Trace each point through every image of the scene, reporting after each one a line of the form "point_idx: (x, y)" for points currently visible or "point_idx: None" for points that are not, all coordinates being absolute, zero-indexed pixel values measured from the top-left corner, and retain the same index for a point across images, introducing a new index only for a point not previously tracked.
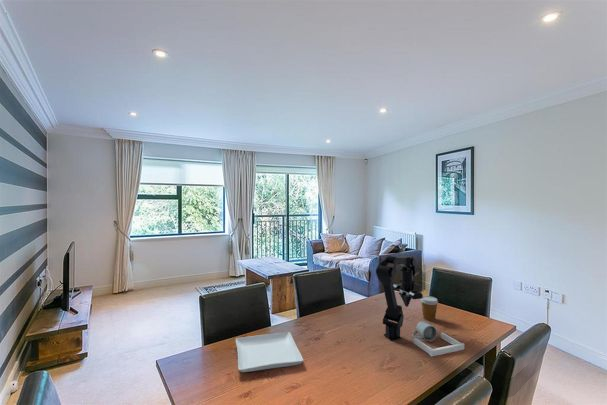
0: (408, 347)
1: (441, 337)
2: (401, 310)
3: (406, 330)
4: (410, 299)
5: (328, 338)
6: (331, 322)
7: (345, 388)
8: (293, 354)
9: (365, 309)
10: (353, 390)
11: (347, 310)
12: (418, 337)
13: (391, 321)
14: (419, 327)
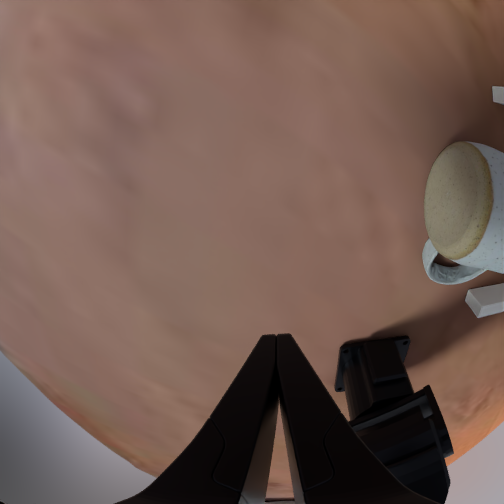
0: (468, 336)
1: (500, 103)
2: (448, 474)
3: (337, 254)
4: (370, 458)
5: (281, 476)
6: (171, 453)
7: (451, 456)
8: None
9: (21, 316)
10: (462, 449)
11: (53, 381)
12: (474, 272)
13: (361, 424)
14: (484, 268)
